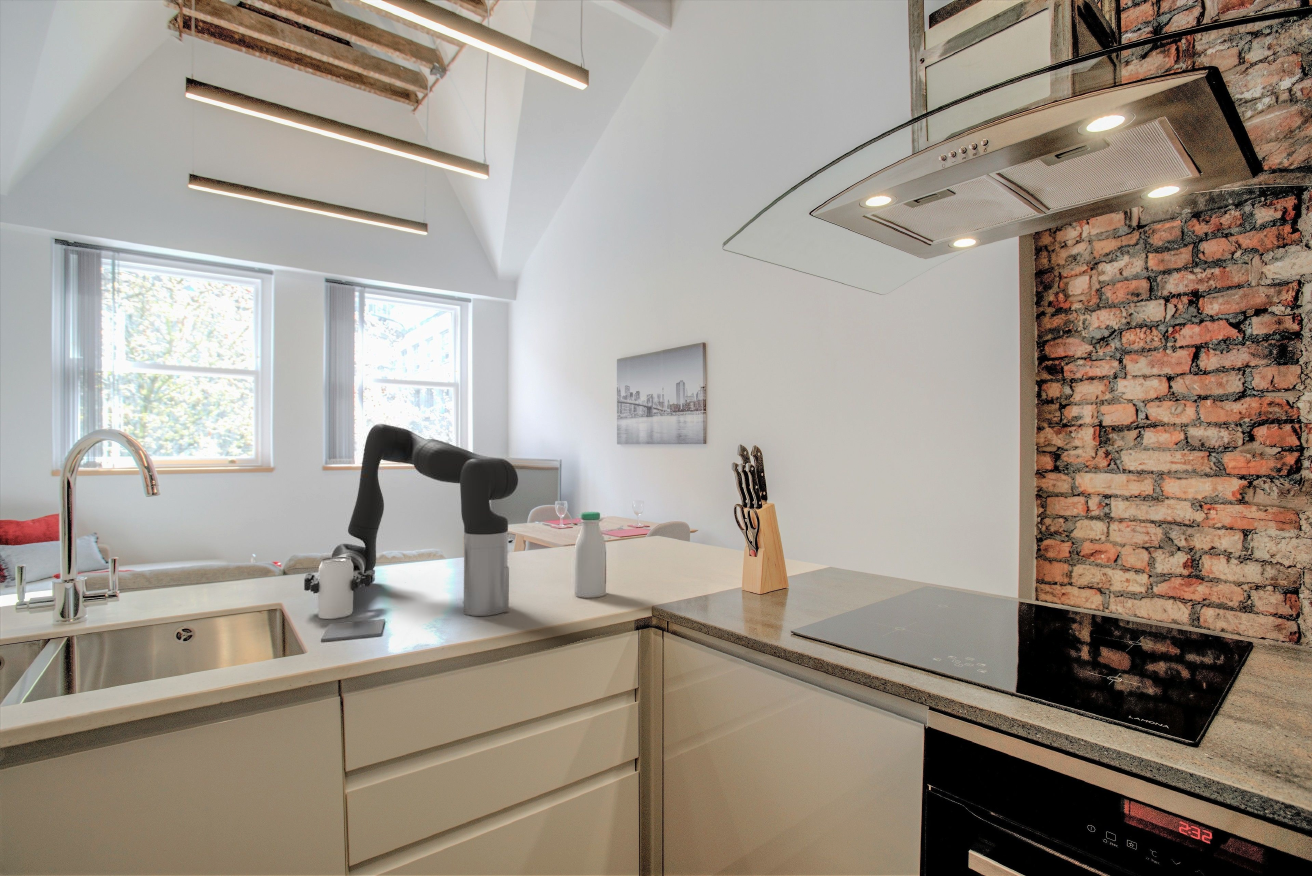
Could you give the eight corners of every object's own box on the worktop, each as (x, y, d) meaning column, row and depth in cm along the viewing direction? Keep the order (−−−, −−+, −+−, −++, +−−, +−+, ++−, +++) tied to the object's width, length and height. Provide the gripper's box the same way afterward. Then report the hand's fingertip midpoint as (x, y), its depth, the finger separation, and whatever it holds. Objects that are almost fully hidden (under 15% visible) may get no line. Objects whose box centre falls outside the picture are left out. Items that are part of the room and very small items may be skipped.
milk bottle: (604, 598, 140) (604, 514, 140) (571, 598, 140) (572, 514, 140) (607, 591, 147) (607, 510, 148) (576, 590, 148) (577, 510, 148)
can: (337, 621, 121) (338, 562, 121) (310, 619, 122) (311, 560, 123) (359, 612, 128) (360, 556, 128) (333, 610, 129) (334, 555, 129)
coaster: (384, 621, 121) (384, 618, 121) (380, 635, 112) (380, 633, 112) (329, 626, 118) (329, 623, 118) (320, 641, 108) (320, 639, 108)
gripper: (310, 557, 136) (294, 571, 120) (379, 553, 141) (372, 566, 126) (310, 590, 136) (294, 608, 120) (379, 585, 141) (372, 602, 125)
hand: (334, 587), depth 123 cm, fingers closed on can, 6 cm apart
